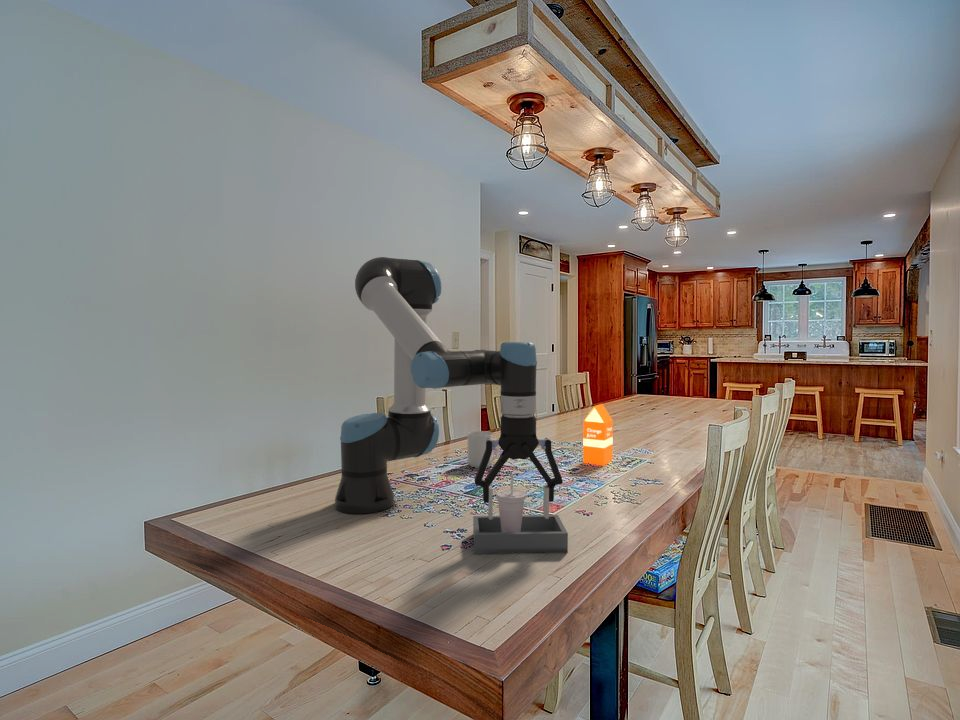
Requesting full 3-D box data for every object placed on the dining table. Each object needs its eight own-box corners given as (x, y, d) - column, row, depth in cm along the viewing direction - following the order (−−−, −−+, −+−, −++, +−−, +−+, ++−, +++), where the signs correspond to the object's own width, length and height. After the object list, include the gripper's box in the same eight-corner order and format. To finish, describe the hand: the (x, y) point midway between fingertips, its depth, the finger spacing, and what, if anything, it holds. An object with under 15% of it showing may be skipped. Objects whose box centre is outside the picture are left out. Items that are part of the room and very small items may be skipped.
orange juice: (612, 460, 187) (613, 404, 186) (604, 465, 179) (605, 407, 178) (591, 457, 191) (591, 402, 190) (582, 462, 183) (582, 405, 182)
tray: (473, 533, 118) (473, 516, 118) (557, 532, 119) (557, 514, 118) (474, 554, 107) (474, 534, 107) (567, 552, 108) (567, 533, 107)
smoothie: (501, 545, 109) (501, 478, 108) (492, 534, 115) (492, 470, 114) (530, 542, 110) (530, 476, 110) (520, 531, 117) (520, 468, 116)
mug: (462, 466, 179) (462, 434, 178) (477, 461, 186) (477, 430, 185) (491, 472, 171) (491, 438, 171) (506, 466, 179) (506, 433, 178)
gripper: (462, 418, 107) (462, 524, 108) (577, 417, 108) (577, 522, 109) (462, 412, 115) (462, 511, 116) (570, 411, 116) (569, 510, 117)
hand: (518, 516), depth 113 cm, fingers open, 11 cm apart
